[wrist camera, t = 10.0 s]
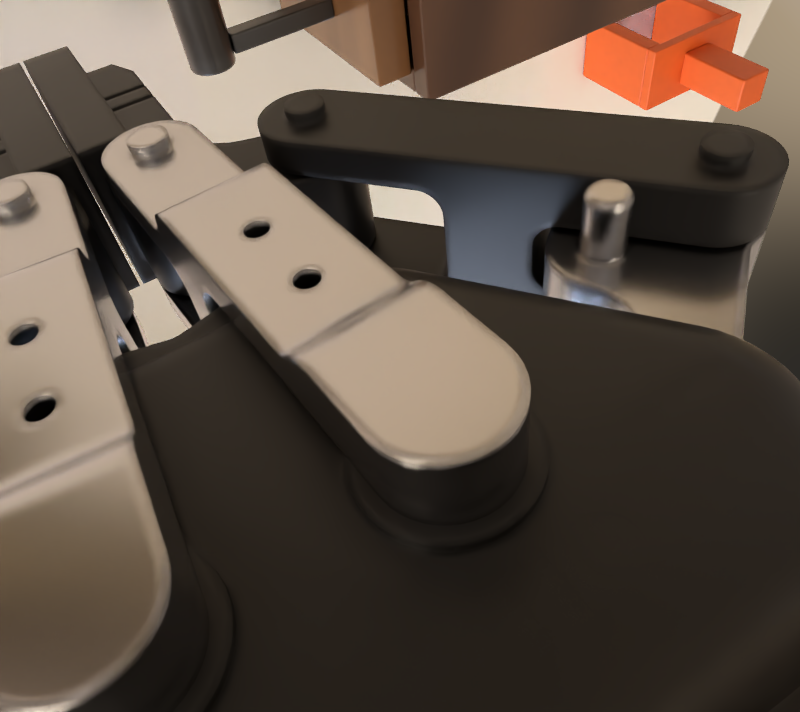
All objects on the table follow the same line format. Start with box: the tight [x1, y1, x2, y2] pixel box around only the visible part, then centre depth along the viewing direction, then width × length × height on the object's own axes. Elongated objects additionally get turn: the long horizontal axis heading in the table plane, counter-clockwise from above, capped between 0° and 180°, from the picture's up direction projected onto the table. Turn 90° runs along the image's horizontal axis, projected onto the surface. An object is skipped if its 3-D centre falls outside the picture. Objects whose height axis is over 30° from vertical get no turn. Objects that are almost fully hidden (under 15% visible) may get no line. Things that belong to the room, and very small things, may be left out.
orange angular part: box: [583, 0, 769, 112], centre depth 36 cm, size 6×3×8 cm, turn 97°
